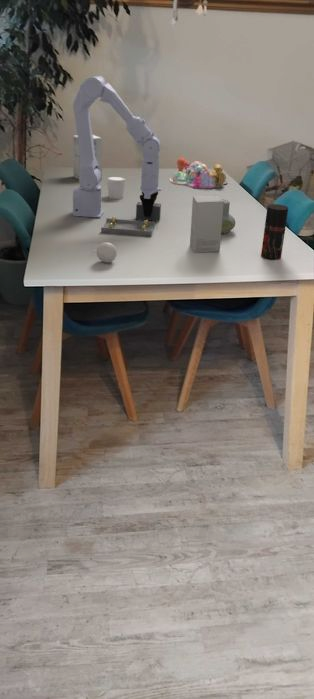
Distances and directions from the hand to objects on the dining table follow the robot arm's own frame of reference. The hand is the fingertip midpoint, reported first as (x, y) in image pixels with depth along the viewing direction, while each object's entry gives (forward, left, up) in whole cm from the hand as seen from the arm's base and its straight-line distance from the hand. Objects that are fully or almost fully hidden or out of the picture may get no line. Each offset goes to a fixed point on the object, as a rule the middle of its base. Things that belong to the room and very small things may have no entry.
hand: (148, 214), depth 220 cm
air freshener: (+24, -8, -2) cm, 25 cm away
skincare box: (+20, -28, -2) cm, 34 cm away
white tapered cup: (-15, +26, -2) cm, 30 cm away
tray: (-5, -14, -1) cm, 15 cm away
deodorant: (+40, -30, -2) cm, 50 cm away
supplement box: (-31, +53, -2) cm, 61 cm away
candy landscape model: (+15, +60, -2) cm, 62 cm away
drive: (0, 0, -1) cm, 1 cm away
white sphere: (-8, -46, -2) cm, 47 cm away
